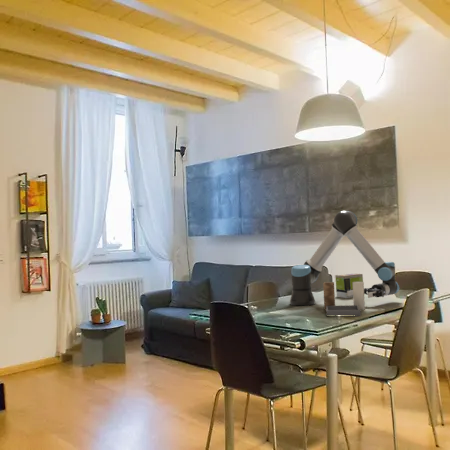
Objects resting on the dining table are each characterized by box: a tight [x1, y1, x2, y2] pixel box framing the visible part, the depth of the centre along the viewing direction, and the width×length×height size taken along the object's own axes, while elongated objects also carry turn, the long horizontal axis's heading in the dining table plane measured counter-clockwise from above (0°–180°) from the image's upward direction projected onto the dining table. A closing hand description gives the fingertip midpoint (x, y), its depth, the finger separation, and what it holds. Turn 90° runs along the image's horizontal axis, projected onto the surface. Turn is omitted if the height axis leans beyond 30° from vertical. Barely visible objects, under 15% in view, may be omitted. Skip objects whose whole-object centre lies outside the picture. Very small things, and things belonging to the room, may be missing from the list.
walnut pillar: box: [322, 281, 336, 310], centre depth 282 cm, size 6×6×15 cm
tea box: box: [334, 273, 364, 299], centre depth 328 cm, size 15×10×15 cm
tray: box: [325, 304, 362, 317], centre depth 265 cm, size 17×17×3 cm
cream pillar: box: [352, 281, 366, 311], centre depth 277 cm, size 6×6×15 cm
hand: (357, 294), depth 276 cm, fingers open, 13 cm apart
